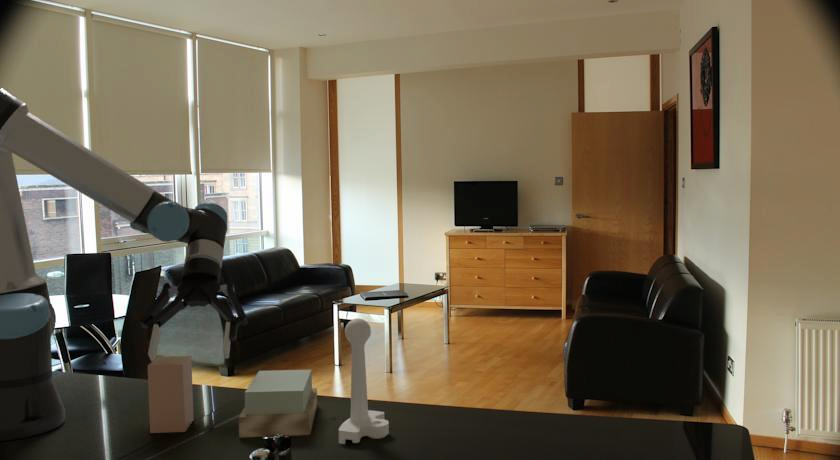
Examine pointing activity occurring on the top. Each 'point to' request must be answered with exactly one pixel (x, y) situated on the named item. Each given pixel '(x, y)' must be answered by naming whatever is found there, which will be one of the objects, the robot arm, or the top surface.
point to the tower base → (279, 422)
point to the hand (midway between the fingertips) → (188, 356)
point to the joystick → (360, 391)
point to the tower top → (278, 392)
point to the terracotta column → (170, 394)
